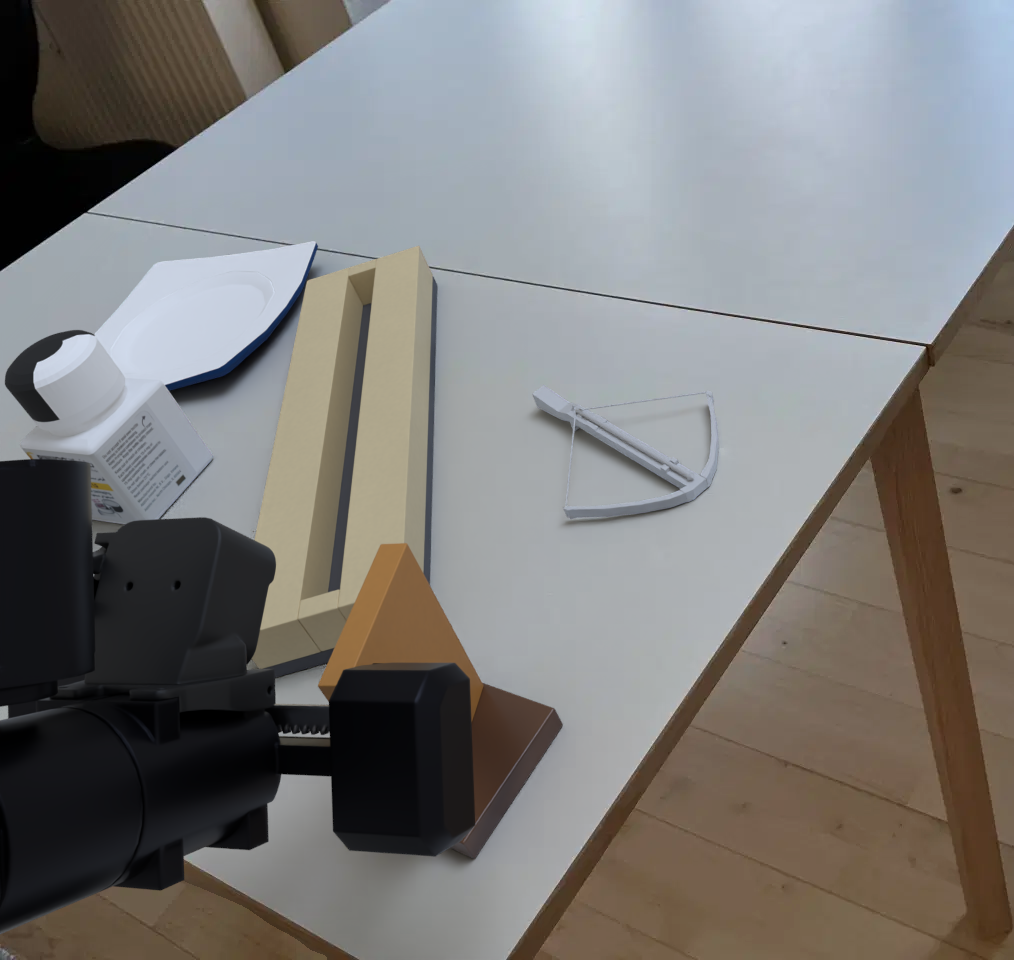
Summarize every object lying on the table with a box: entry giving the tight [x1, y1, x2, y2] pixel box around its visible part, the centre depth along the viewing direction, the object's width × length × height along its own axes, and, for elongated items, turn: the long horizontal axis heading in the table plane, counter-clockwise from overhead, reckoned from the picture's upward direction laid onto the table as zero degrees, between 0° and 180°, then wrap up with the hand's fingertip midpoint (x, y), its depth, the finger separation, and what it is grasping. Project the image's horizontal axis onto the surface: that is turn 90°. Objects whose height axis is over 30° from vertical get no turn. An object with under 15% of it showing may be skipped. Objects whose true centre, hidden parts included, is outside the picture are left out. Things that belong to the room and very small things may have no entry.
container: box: [4, 329, 214, 525], centre depth 79 cm, size 8×8×13 cm
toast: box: [317, 543, 484, 721], centre depth 52 cm, size 8×1×11 cm, turn 170°
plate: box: [93, 240, 319, 392], centre depth 98 cm, size 20×20×3 cm
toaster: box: [251, 245, 438, 679], centre depth 78 cm, size 40×11×4 cm, turn 8°
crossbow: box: [531, 384, 720, 520], centre depth 71 cm, size 16×13×2 cm
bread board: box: [449, 682, 564, 859], centre depth 56 cm, size 8×8×2 cm
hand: (360, 709), depth 48 cm, fingers open, 9 cm apart
